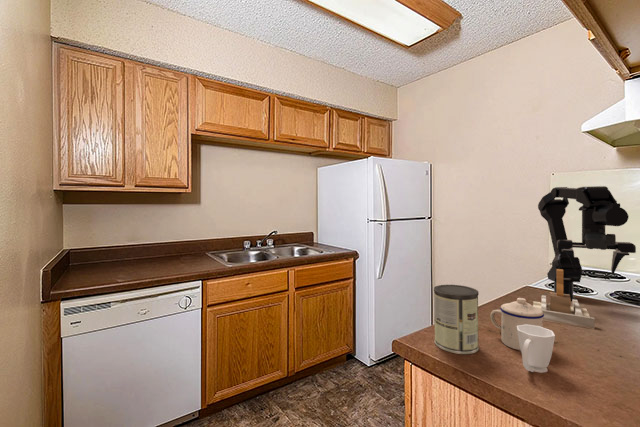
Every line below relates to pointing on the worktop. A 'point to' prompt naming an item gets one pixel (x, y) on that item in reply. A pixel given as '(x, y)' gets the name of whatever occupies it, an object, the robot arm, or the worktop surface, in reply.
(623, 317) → the worktop surface
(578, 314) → the lane tray
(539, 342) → the cup
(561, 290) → the tan wooden block
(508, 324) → the teacup with lid
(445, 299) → the coffee can
